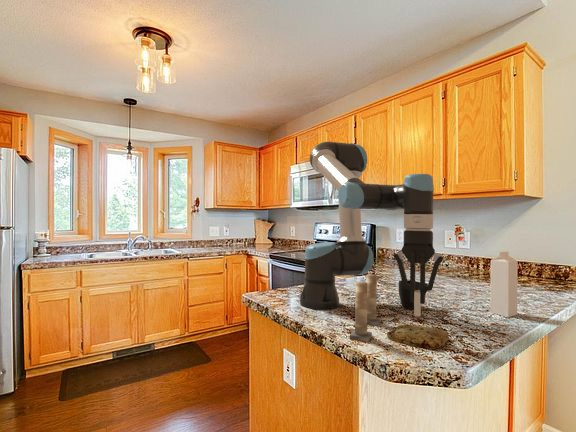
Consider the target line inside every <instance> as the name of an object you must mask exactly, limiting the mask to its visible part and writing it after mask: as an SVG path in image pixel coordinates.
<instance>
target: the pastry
mask: <svg viewBox="0 0 576 432" xmlns="http://www.w3.org/2000/svg"><path fill="white" fill-rule="evenodd" d="M386 337H387V339H388V340H390V341H393V342H396V343H402V344H404V345H407V346H411V347H416V348H426V350H435V349H439V348H441V347H444V346H445V345H446V343H447V342H448V341H449V340H450V335H449V334H448V332H446V331H444V330H442V329H439V328H437V327H436V328H435V327H431V326H425V325H415V324H407V323H406V324H400V325H398V326H396V327H394V328H393V329H392V330H390V331H388V332H387V333H386Z"/></svg>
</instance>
